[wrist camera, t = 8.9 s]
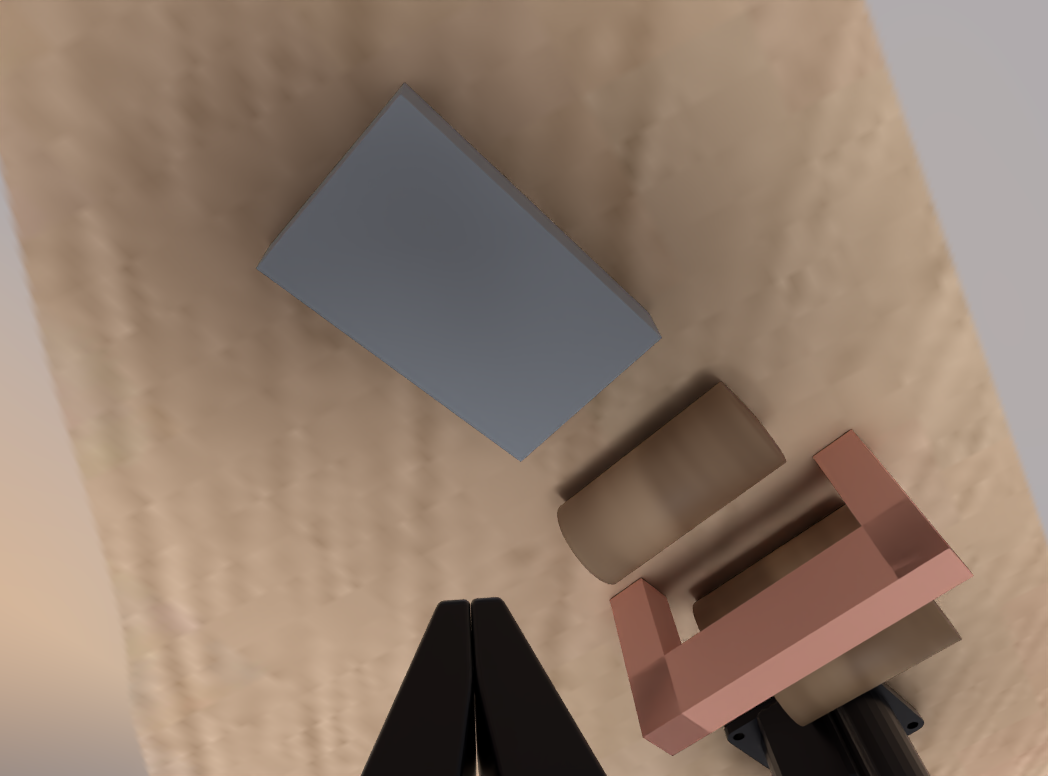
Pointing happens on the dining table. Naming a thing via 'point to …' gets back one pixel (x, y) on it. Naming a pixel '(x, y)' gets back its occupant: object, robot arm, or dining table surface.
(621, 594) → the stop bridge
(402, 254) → the slab
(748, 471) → the roller
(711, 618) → the roller
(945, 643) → the roller
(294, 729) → the dining table surface
